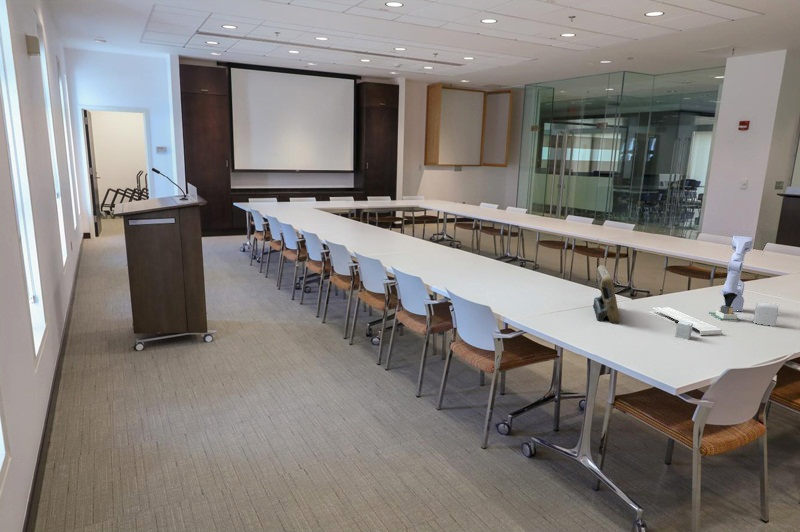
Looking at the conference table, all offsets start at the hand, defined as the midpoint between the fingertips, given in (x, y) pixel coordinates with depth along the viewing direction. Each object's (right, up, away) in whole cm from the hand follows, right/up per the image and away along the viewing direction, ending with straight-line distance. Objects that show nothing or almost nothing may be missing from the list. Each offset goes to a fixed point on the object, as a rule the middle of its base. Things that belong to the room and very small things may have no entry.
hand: (727, 306), depth 290 cm
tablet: (-68, -5, +1) cm, 68 cm away
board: (0, -7, +4) cm, 8 cm away
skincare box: (-42, -13, -31) cm, 54 cm away
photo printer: (+16, -10, -6) cm, 19 cm away
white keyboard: (-30, -9, -9) cm, 33 cm away
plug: (0, -6, +2) cm, 6 cm away
